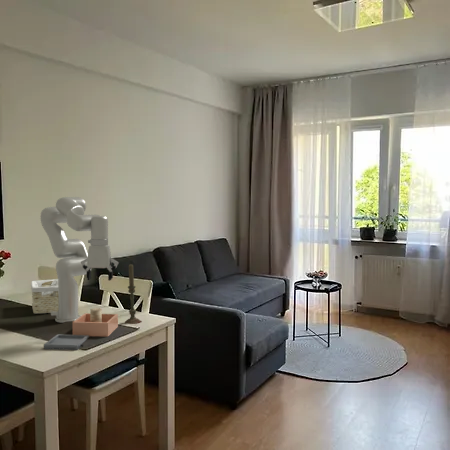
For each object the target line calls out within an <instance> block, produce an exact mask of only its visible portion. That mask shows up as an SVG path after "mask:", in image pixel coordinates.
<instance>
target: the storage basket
mask: <svg viewBox="0 0 450 450" xmlns="http://www.w3.org/2000/svg"><path fill="white" fill-rule="evenodd" d="M30 287H31V288H30V289H31V297H32V303H31V304H32V308H31V309H32V312H33V313H32V314H37V315H38V314H47V313H48V314H51V311H55V312H57V311H58V278H55V279H53V278H52V279H42V280H32V281H30Z"/></svg>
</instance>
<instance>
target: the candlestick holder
mask: <svg viewBox="0 0 450 450" xmlns="http://www.w3.org/2000/svg"><path fill="white" fill-rule="evenodd" d="M134 275H135V274H134V264H133V263H130V264H129V265H128V281H129V282H128V284H129V286H127V288H128V293H130V295H129V300H130V309H129V310H128V313H129V315H130V317H129V318H128V319H126V320H125V321H124V323H125V324H127V325H138V324H141V323H142V322H143V321H142V320H140V319H139V318H137V317H136V316H135V315H136V313H137V310H136V309H135V307H134V305H135V303H134V300H135V295H134V293H135V292H136V289H135V288H136V285H135V282H134V281H135V280H134V279H135V278H134Z"/></svg>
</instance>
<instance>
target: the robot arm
mask: <svg viewBox="0 0 450 450" xmlns="http://www.w3.org/2000/svg"><path fill="white" fill-rule="evenodd" d="M86 208H87V204H86V201H85V199H84V198H82V197H79V196H65V197H60V198H59V199H57V200H56V202H55V206H48V207H45V208H43V209H42V210H41V212H40V223H41V226H42V228H43V230H44V232H45V233H46V235H47V237H48V240H49V243H50V245H51V249H52V251H53V253H54V256H55V257H56V258H58V259H59V260H58V261H57V262H56V264H55V271H56V276H57V279H58V311H57V312H55V311H51V313H50V316H51V317H55V322H57V323H60V324H64V323H65V322H74V321H75V320H76V319H78V318H79V317H80V316H81V315H79V284H78V282H77V280H76V279H75V278H74V277H77V276H85V275H86V278H87V281H90V280H91V279H92V269H106V270H108V273H107V275H108V278H107V281H112V280H113V278H114V270H115V269H116V268H117V267H118V265H119V263H120V262H119V261H117V260H116V259H114V258H112V254H111V253H112V251H111V248H110V245H109V218H108V217H107V216H105V215H99V214H85V211H86ZM57 223H58V224H60V223H61V224H63V223H66V224H67V226H68V227H70V228H71V229H72V230H73V231H75V232H87V231H88V232H90V239H88V240H87V243H88V244H90V245H89V246H88V250H87V247H86V245H85V243H84V242H83V240H81V239H79V238H68V236H67V234H66V231H65V230H64V228H62V226H60V225H58V224H57ZM112 263H113V264H114V265H113V266H112Z"/></svg>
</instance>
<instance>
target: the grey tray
mask: <svg viewBox="0 0 450 450" xmlns="http://www.w3.org/2000/svg"><path fill="white" fill-rule="evenodd" d="M89 338H90V336H89V335H73V334H63V333H61V334H60V333H59V334H56V335H54V336H53V337H52V338H50V339H49V340H48V341H46V342H45V343H44V344H43V349H44V350H63V351H64V350H67V351H70V350H71V351H79V349H81V348H82V347H83V343H85V342H86V340H88V339H89Z"/></svg>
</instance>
